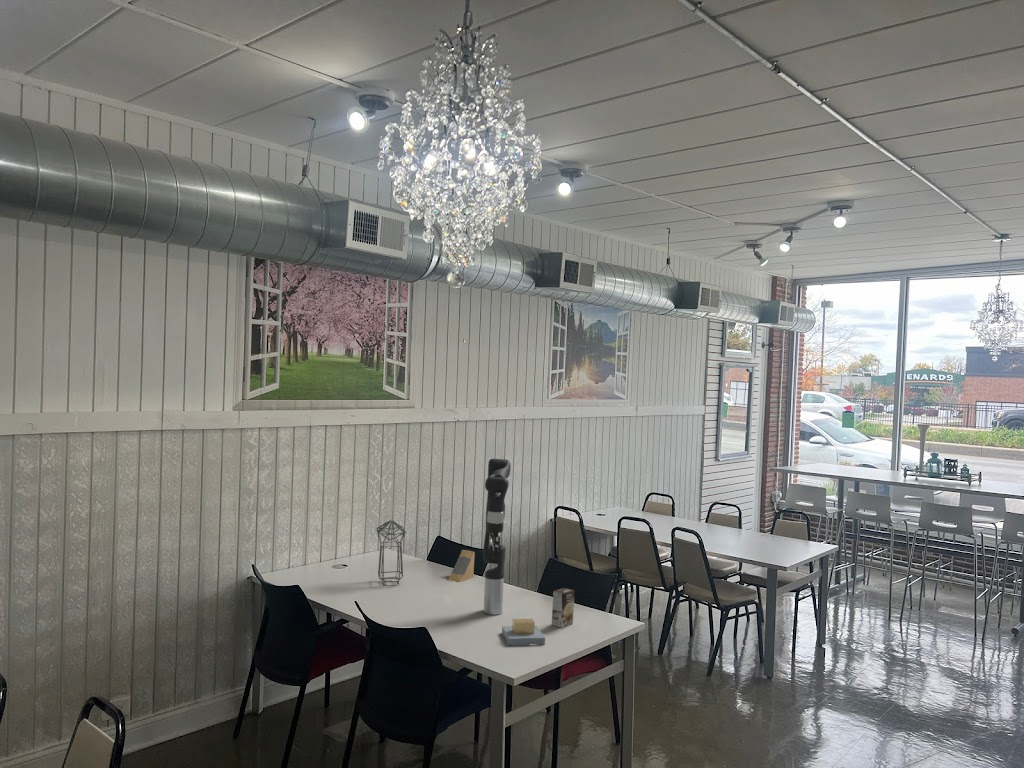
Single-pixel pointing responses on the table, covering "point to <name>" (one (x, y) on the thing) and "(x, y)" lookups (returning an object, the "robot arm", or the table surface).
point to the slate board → (523, 637)
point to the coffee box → (563, 607)
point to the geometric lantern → (390, 546)
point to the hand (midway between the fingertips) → (493, 556)
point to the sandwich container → (463, 567)
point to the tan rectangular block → (523, 626)
